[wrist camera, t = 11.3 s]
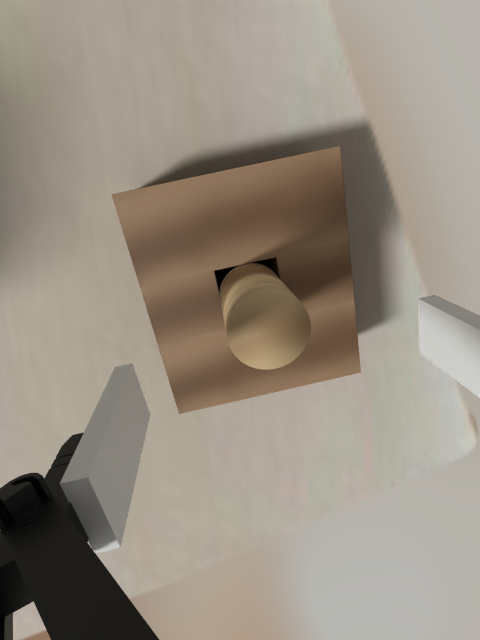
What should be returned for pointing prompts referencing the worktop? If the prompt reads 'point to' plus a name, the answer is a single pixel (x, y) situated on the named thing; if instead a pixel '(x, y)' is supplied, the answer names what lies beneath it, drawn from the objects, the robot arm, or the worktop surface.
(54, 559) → the robot arm
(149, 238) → the socket block
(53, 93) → the worktop surface
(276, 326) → the peg
